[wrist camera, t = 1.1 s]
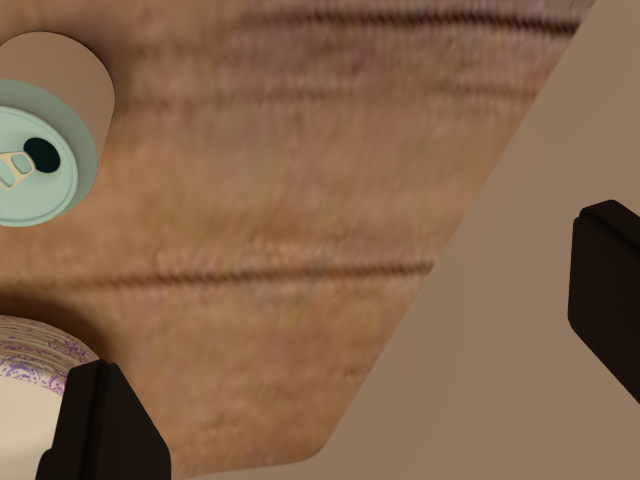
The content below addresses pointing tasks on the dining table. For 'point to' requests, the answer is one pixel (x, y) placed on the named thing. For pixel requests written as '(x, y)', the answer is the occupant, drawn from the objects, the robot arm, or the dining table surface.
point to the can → (49, 125)
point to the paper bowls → (32, 390)
